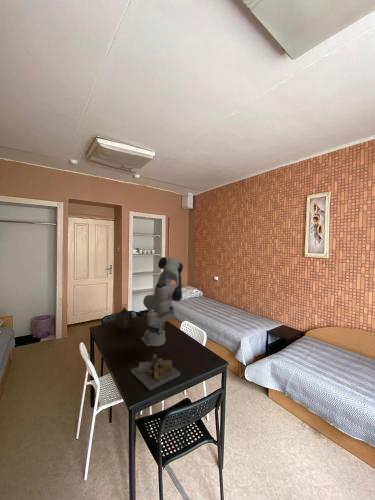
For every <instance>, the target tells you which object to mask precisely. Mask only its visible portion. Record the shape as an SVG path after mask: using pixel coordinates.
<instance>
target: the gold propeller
mask: <svg viewBox="0 0 375 500" xmlns="http://www.w3.org/2000/svg"><path fill="white" fill-rule="evenodd" d="M157 359H158V356H157V353H154V354H152V361H153V362H154V361H157ZM149 362H150V361H142V362H138V363H139V364H138V365H139V366H138V367H139V373H145V372H147V374H149V375H153V376H154V380H159V374H160V375H161V374H162V373H163V372H164V371H165V370H172V367H173V361H172V359H162V364H161V363H159V368H160V369H159V368H158V365H157V366H154V370H152V363H151V364H149Z"/></svg>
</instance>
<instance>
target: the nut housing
mask: <svg viewBox="0 0 375 500" xmlns="http://www.w3.org/2000/svg"><path fill="white" fill-rule="evenodd" d="M162 360H163V359H162V358H160V357H159V358H157V361H154V362H153V360H152V361H148V362H149V364H151V363H152V370H154V366H157V365H158V368H159V363H161V364H162ZM159 369H160V368H159ZM130 373H131V374H132V375H133V376H134V377H135V378H136V379H137V380H138V381H139V382H140V383H141V384H142V385H143V386H144V387H145V388H146V389H147V390H148V391H152V390H154V389H155V388H157V387H160V386H162V385H163V384H164V385H165V384H166V383H168V382H170V381H172V380H174V379H176V378H179V377H180V376H181V371H179V370H178V369H176V368H175V367H174V366H172V370H165V371H164V372H163V373H162V374H161V375H160V374H159V380H154V376H153V375H149V374H147V372H145V373H139V366H136V367H134V368H131V369H130Z"/></svg>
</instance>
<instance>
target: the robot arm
mask: <svg viewBox="0 0 375 500" xmlns="http://www.w3.org/2000/svg"><path fill="white" fill-rule="evenodd" d="M157 266H158V268H159V269H160V270H162V272H161V273H160V275H159V277H158V281H157V283H156V284H155V285H154V294H147V295H145V296H144V298H143V301H142V303H143V306H144V307H145V308H146V309H147V311H148V313H147V314H146V315H147V316H146V325H147V326H148V329H147V330H146V331H144V334H143V336H142V337H141V338H140V339H141V341H142V342H143V343H144V344H145V346H147V347H148V346H149V347H160V346H163V345H164V344H165V343H166V340H167V338H166V332H165V324H166V322H168V321H171V320H174V319H175V310H174V309H175V307H174V305H173V302H179V301H181V300H182V299H183V289H182V287H183V286H182V274H181V273H182V272H183V270H184V265H183V263H181V262H179V260H178V259H177V258H176V257H170V258H168V257H166V256H165V257H164V256H162V257H161V258H160V259H159V261H158V264H157ZM172 281H174V282H175V286H173V285H172V286H171V283H172ZM172 301H173V302H172Z"/></svg>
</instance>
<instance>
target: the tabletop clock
mask: <svg viewBox="0 0 375 500" xmlns="http://www.w3.org/2000/svg"><path fill="white" fill-rule="evenodd" d="M123 306H124V307H123ZM127 306H128V305H127V303H124V304H123V305H122V306H121V308H122V309H121V311H120V312H118V313H116V315H115V327H116V328H119V329H120V330H121V333H123V334H124V329H131V327H130V326H131V325H132V324H133V312H132V311H131V310H128V309H127Z"/></svg>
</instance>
